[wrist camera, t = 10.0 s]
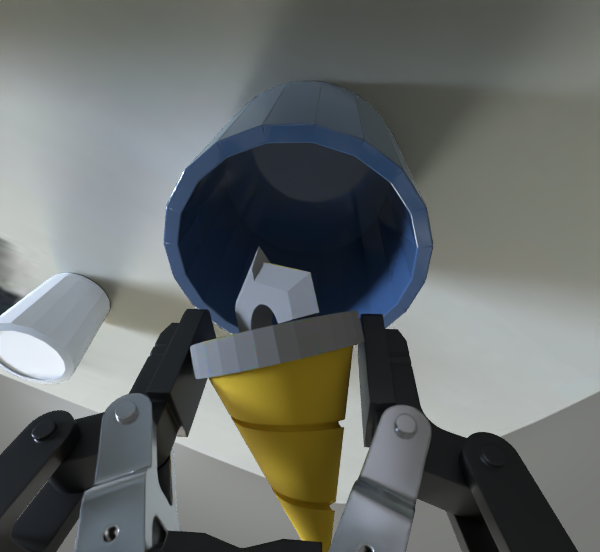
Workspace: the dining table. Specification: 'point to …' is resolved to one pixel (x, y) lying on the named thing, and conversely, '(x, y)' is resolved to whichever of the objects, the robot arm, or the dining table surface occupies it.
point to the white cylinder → (52, 328)
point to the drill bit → (287, 388)
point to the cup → (301, 206)
